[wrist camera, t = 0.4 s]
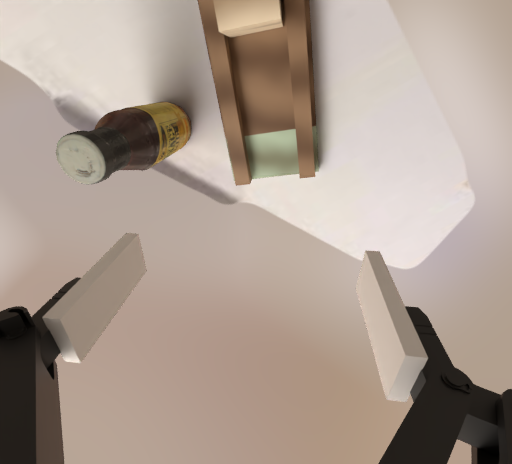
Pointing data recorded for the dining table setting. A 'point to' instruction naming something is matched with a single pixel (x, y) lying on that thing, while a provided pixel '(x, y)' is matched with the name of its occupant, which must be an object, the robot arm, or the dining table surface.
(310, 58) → the walnut chute
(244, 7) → the block
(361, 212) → the dining table surface
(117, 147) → the sauce bottle
